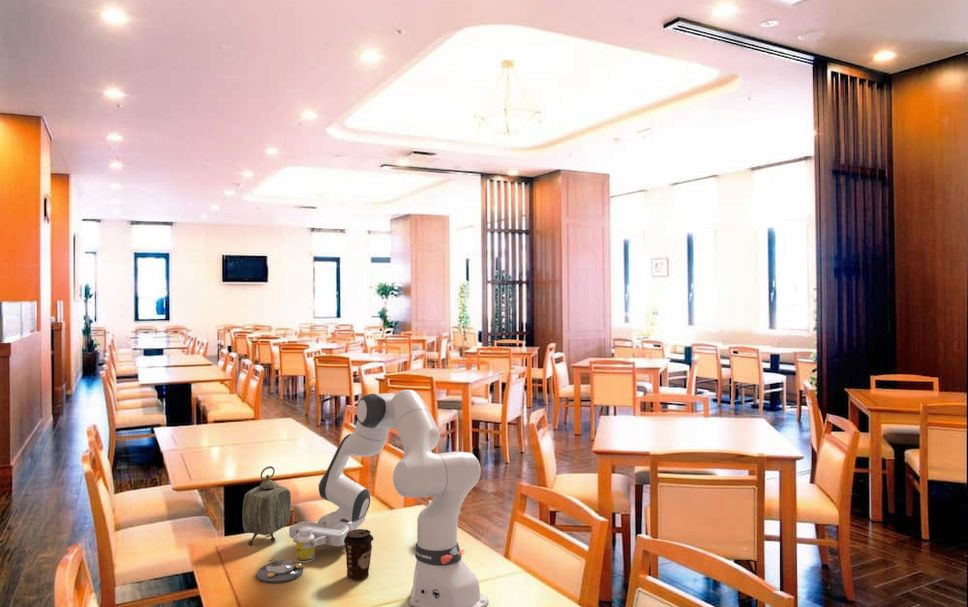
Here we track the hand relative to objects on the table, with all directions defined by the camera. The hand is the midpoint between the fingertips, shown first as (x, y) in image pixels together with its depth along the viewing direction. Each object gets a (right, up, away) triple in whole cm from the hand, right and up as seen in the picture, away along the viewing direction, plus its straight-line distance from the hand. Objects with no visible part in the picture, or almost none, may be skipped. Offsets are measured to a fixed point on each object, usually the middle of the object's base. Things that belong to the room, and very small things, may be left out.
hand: (303, 541), depth 206 cm
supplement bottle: (0, -6, +1) cm, 6 cm away
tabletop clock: (-17, -6, +16) cm, 24 cm away
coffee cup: (+19, -7, -11) cm, 23 cm away
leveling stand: (-4, -6, -10) cm, 12 cm away
